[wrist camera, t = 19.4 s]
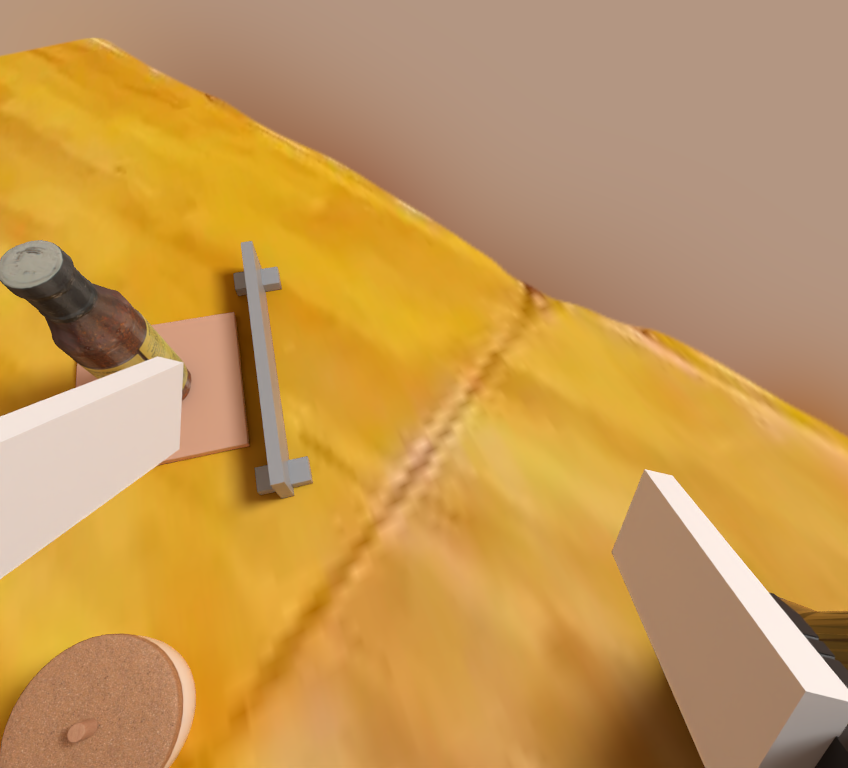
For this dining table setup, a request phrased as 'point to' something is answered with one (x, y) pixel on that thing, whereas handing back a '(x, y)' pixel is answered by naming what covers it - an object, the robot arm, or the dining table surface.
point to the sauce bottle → (83, 312)
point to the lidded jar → (103, 707)
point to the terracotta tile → (205, 385)
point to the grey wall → (268, 381)
